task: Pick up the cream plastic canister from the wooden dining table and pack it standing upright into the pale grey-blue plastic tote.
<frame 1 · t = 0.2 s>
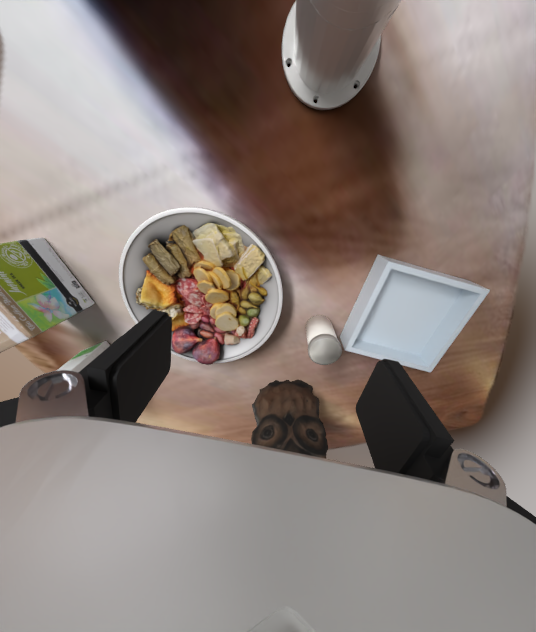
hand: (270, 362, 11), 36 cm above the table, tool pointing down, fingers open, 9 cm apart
canister: (318, 326, 51), on the table
skincare box: (103, 355, 58), on the table
tote: (400, 310, 48), on the table
bowl: (208, 287, 49), on the table
tea box: (56, 279, 50), on the table
owl: (285, 396, 60), on the table
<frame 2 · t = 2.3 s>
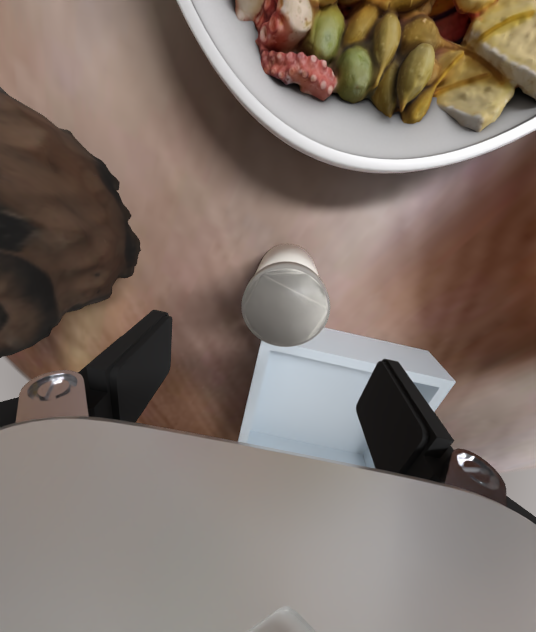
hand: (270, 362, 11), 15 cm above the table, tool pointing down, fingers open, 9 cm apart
canister: (286, 272, 24), on the table
tote: (322, 393, 30), on the table
owl: (77, 213, 24), on the table
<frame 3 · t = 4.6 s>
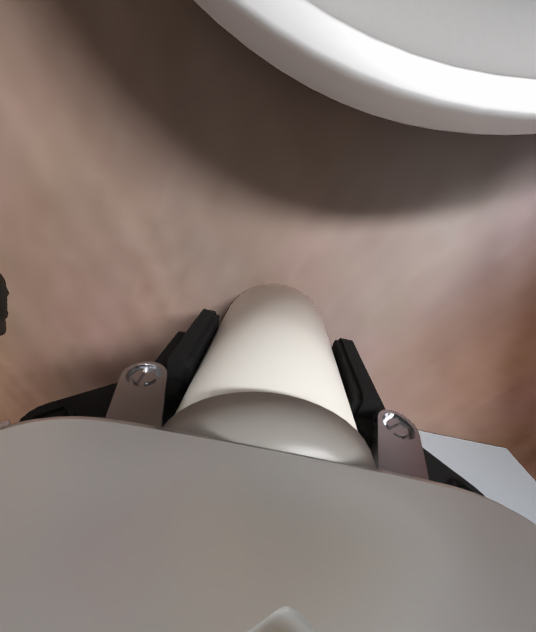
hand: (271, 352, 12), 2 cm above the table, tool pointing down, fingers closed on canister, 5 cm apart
canister: (273, 331, 14), on the table, touching gripper
tote: (332, 498, 20), on the table
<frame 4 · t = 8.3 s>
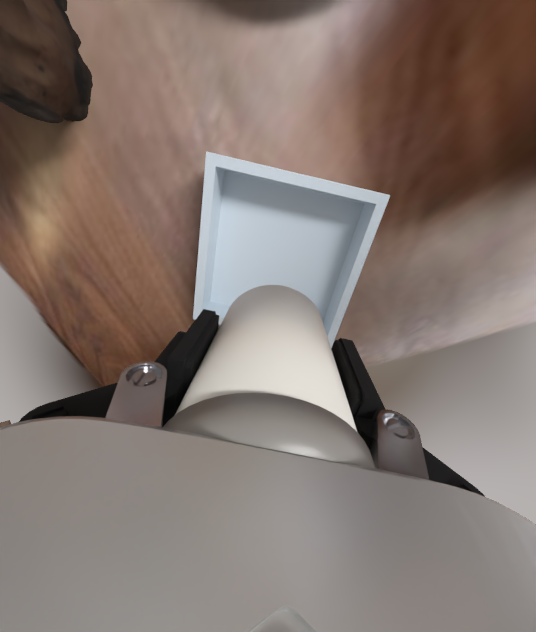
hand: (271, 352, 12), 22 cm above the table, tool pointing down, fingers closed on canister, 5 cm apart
canister: (272, 332, 14), point 20 cm above the table, touching gripper
tote: (279, 255, 32), on the table
owl: (28, 43, 24), on the table
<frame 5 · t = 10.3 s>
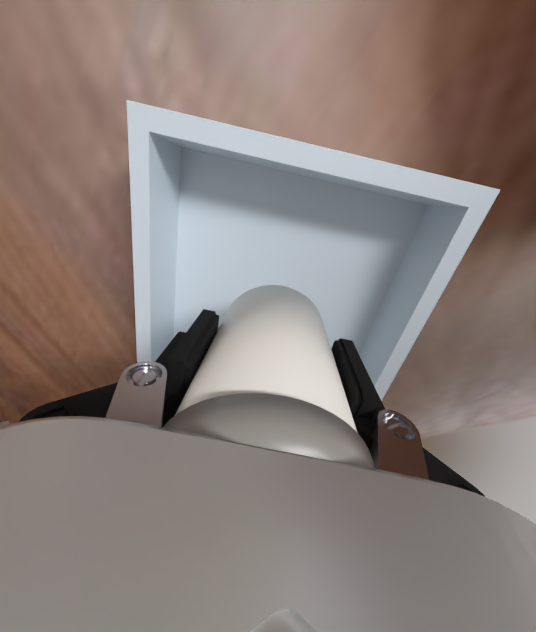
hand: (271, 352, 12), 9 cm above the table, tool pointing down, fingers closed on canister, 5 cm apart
canister: (272, 332, 14), point 7 cm above the table, touching gripper
tote: (278, 288, 20), on the table
when the fingers open (4 cm above the table, at t = 12.2 s): canister drops 1 cm, resting on tote.
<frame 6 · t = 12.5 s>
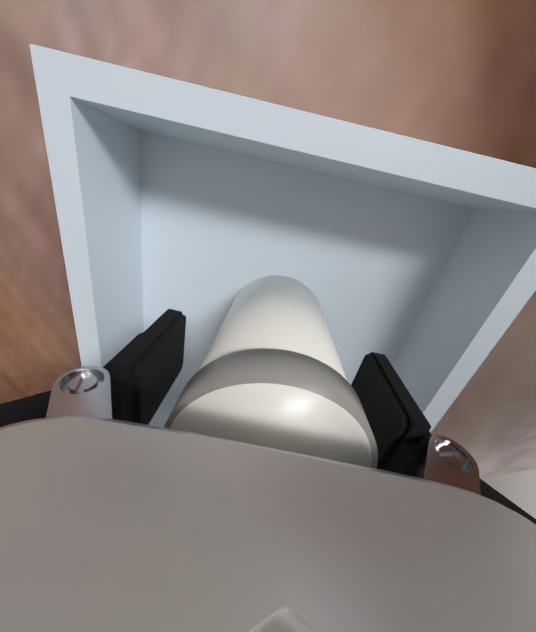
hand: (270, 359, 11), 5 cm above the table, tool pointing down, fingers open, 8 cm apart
canister: (275, 319, 15), point 1 cm above the table, touching tote
tote: (274, 313, 16), on the table
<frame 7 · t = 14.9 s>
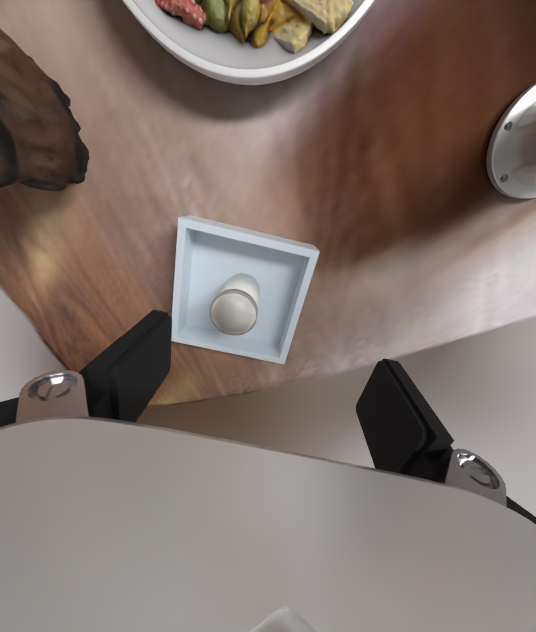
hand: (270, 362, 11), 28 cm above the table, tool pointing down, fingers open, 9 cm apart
canister: (242, 290, 38), point 1 cm above the table, touching tote
tote: (242, 288, 39), on the table
owl: (38, 126, 31), on the table
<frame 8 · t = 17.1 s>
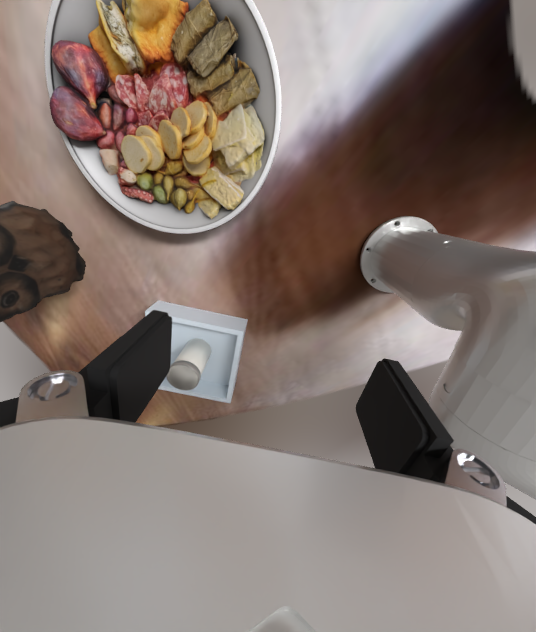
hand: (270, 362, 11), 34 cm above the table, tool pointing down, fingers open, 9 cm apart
canister: (198, 349, 51), point 1 cm above the table, touching tote
tote: (199, 347, 52), on the table
bowl: (179, 122, 36), on the table
owl: (51, 247, 45), on the table
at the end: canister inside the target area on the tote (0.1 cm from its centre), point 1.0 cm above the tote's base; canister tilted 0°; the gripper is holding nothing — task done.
